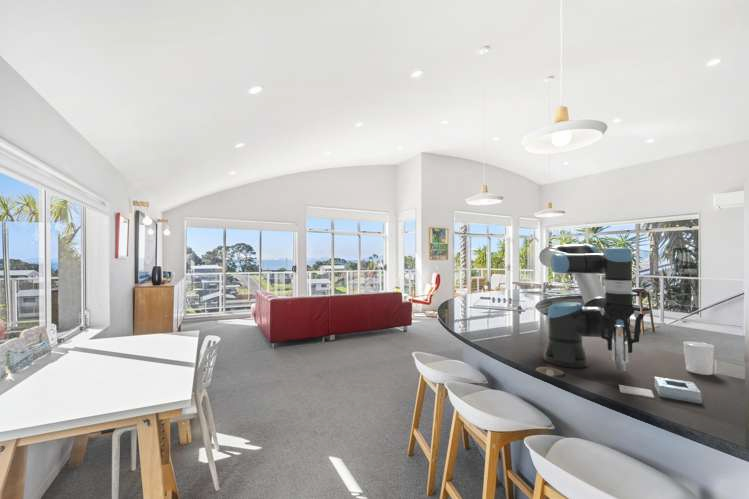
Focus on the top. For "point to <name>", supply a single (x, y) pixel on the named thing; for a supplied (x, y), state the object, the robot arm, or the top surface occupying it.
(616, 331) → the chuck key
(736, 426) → the top surface
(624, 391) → the mat
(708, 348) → the white cup
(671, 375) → the top surface
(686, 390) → the block
